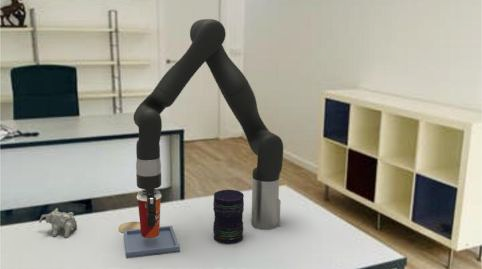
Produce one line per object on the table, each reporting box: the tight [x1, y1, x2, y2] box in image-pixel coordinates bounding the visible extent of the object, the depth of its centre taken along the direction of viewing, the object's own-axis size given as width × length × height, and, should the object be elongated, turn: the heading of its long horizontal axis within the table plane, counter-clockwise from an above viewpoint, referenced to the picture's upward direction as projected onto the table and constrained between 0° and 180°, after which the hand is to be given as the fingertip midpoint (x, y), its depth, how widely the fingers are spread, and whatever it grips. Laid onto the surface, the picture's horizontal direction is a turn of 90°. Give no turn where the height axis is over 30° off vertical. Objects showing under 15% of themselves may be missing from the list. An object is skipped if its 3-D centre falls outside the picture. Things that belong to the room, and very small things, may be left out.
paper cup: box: [136, 189, 163, 238], centre depth 150 cm, size 8×8×14 cm
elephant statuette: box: [38, 207, 78, 238], centre depth 158 cm, size 9×12×8 cm
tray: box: [123, 225, 181, 259], centre depth 152 cm, size 16×16×2 cm
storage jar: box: [212, 189, 245, 245], centre depth 156 cm, size 10×10×15 cm
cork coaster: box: [117, 221, 141, 234], centre depth 163 cm, size 9×9×1 cm
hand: (150, 221), depth 151 cm, fingers closed on paper cup, 6 cm apart
